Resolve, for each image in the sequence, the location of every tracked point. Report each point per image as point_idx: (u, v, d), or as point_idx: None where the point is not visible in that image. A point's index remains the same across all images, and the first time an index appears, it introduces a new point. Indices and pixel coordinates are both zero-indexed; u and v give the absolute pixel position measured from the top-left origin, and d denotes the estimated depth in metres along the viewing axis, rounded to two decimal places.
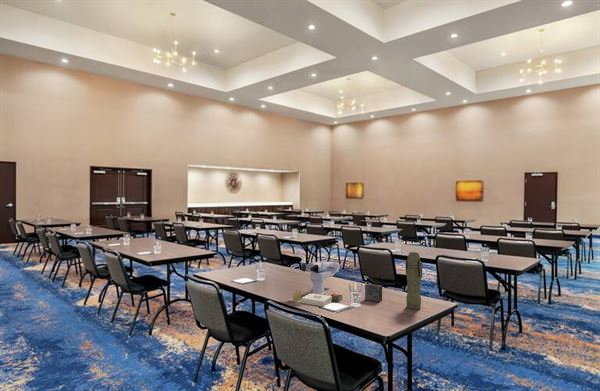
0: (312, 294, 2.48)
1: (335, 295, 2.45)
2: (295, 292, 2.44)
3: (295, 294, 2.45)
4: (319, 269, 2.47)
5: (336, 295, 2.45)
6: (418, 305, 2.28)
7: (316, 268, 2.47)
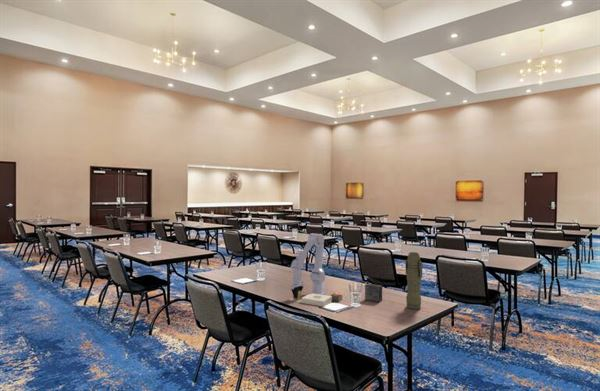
0: (312, 294, 2.48)
1: (335, 295, 2.45)
2: None
3: None
4: (292, 289, 2.40)
5: (336, 295, 2.45)
6: (418, 305, 2.28)
7: (294, 289, 2.43)
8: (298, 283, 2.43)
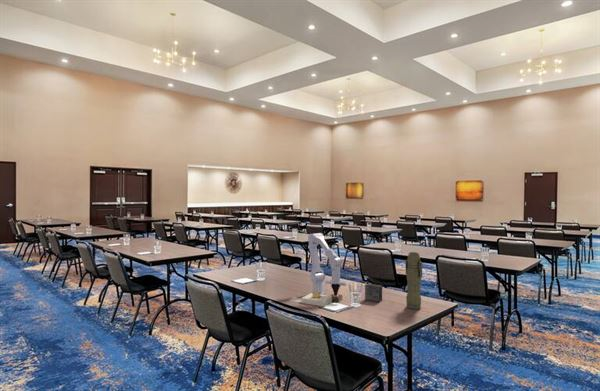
0: (312, 294, 2.48)
1: None
2: (314, 293, 2.40)
3: (314, 295, 2.40)
4: (345, 285, 2.44)
5: None
6: (418, 305, 2.28)
7: None
8: None
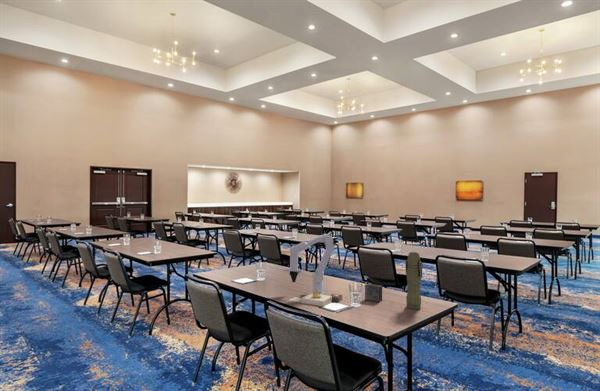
0: (312, 294, 2.48)
1: None
2: (314, 293, 2.40)
3: (314, 295, 2.40)
4: (302, 272, 2.56)
5: None
6: (418, 305, 2.28)
7: None
8: None
